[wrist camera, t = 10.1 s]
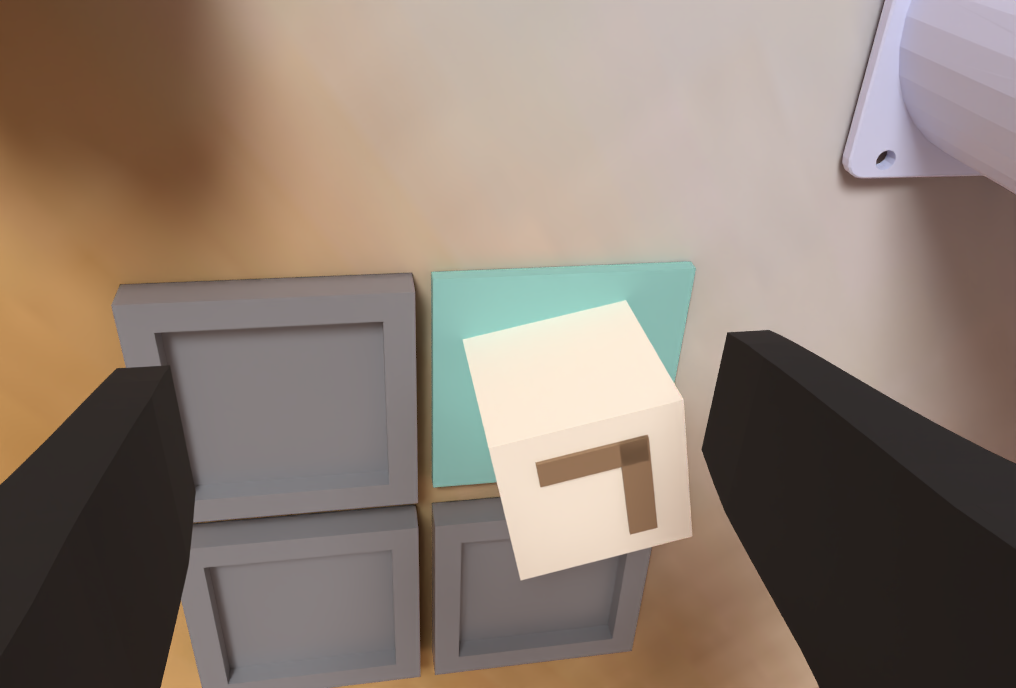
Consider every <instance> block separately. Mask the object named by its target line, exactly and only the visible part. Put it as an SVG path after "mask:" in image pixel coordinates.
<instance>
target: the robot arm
mask: <svg viewBox="0 0 1016 688" xmlns="http://www.w3.org/2000/svg"><path fill="white" fill-rule="evenodd" d="M884 151H887V155H886V157H885V159H884V160H883V161H882V162H880V163H878V164H876V160H877V158H878V156H879V155H880V154H881V153H882V152H884ZM842 163H843V166H844V169H845V170H846V171H848V172H849V173H850V174H851V175H853V176H854V177H856V178H903V177H946V176H986V177H987V178H989V179H991V180H992V181H994V182H996V183H997V184H999V185H1001V186H1002V187H1004V188H1006V189H1007V190H1009V191H1011V192H1013V193H1014V194H1016V0H885V3H884V6H883V10H882V14H881V17H880V21H879V25H878V28H877V32H876V36H875V39H874V43H873V47H872V51H871V54H870V58H869V62H868V65H867V69H866V73H865V76H864V80H863V84H862V87H861V91H860V95H859V98H858V102H857V106H856V110H855V113H854V117H853V121H852V124H851V128H850V132H849V135H848V139H847V143H846V146H845V150H844V154H843V161H842ZM702 452H703V455H704V458H705V460H706V463H707V466H708V469H709V472H710V474H711V477H712V480H713V483H714V485H715V488H716V490H717V493H718V495H719V498H720V500H721V503H722V505H723V508H724V510H725V513H726V515H727V517H728V518H729V520H730V522H731V524H732V526H733V528H734V530H735V532H736V533H737V535H738V537H739V539H740V541H741V543H742V544H743V546H744V548H745V550H746V552H747V554H748V556H749V557H750V559H751V561H752V563H753V565H754V566H755V568H756V570H757V572H758V574H759V575H760V577H761V579H762V581H763V583H764V584H765V586H766V588H767V590H768V591H769V593H770V595H771V597H772V599H773V600H774V602H775V604H776V606H777V608H778V609H779V611H780V613H781V615H782V617H783V618H784V620H785V622H786V624H787V626H788V627H789V629H790V631H791V633H792V635H793V636H794V638H795V640H796V642H797V644H798V645H799V647H800V649H801V651H802V653H803V655H804V657H805V659H806V661H807V663H808V665H809V667H810V669H811V671H812V673H813V675H814V677H815V679H816V681H817V683H818V685H819V688H1016V464H1015V463H1013V462H1011V461H1009V460H1007V459H1005V458H1003V457H1000V456H998V455H996V454H994V453H992V452H990V451H988V450H986V449H984V448H982V447H980V446H978V445H976V444H974V443H973V442H971V441H969V440H967V439H965V438H963V437H961V436H959V435H957V434H955V433H953V432H951V431H949V430H947V429H945V428H944V427H942V426H940V425H938V424H936V423H934V422H932V421H931V420H929V419H927V418H925V417H923V416H921V415H920V414H918V413H916V412H914V411H912V410H911V409H909V408H907V407H905V406H904V405H902V404H900V403H898V402H896V401H895V400H893V399H891V398H890V397H888V396H886V395H884V394H883V393H881V392H879V391H877V390H876V389H874V388H872V387H871V386H869V385H867V384H865V383H864V382H862V381H860V380H859V379H857V378H855V377H854V376H852V375H850V374H848V373H847V372H845V371H843V370H842V369H840V368H838V367H836V366H835V365H833V364H831V363H830V362H828V361H826V360H825V359H823V358H821V357H819V356H818V355H816V354H814V353H812V352H811V351H809V350H807V349H805V348H804V347H802V346H800V345H798V344H796V343H794V342H793V341H791V340H789V339H787V338H785V337H783V336H781V335H779V334H777V333H774V332H772V331H770V330H763V331H746V332H729V333H727V336H726V341H725V346H724V350H723V355H722V359H721V364H720V368H719V373H718V377H717V382H716V387H715V391H714V396H713V400H712V405H711V409H710V414H709V418H708V423H707V428H706V432H705V437H704V441H703V446H702ZM195 495H196V491H195V486H194V481H193V476H192V471H191V466H190V461H189V456H188V452H187V447H186V442H185V437H184V432H183V427H182V422H181V417H180V412H179V407H178V402H177V397H176V392H175V387H174V383H173V378H172V373H171V368H170V365H166V366H149V367H131V368H117V369H116V370H115V371H114V372H113V373H112V374H111V375H110V376H109V377H108V378H107V379H106V380H105V381H104V382H103V383H102V384H101V385H100V386H99V387H98V388H97V389H96V390H95V391H94V392H93V393H92V394H91V395H90V396H89V397H88V398H87V399H86V400H85V401H84V402H83V403H82V404H81V405H80V406H79V407H78V408H77V409H76V410H75V411H74V412H73V413H72V414H71V415H70V416H69V417H68V418H67V419H66V420H65V422H64V423H63V424H62V425H61V426H60V427H59V428H58V429H57V430H56V431H55V432H54V433H53V434H52V435H51V436H50V437H49V438H48V439H47V440H46V441H45V442H44V443H43V444H42V445H41V446H40V447H39V448H38V449H37V450H36V451H35V452H34V453H33V454H32V455H31V456H30V457H29V458H28V459H27V460H26V461H25V462H24V463H23V464H22V465H21V466H20V467H18V468H17V469H16V470H15V471H14V472H13V473H12V474H11V475H10V476H9V477H8V478H7V479H6V480H5V481H4V482H3V483H2V484H1V485H0V688H160V687H161V683H162V679H163V675H164V670H165V666H166V662H167V658H168V653H169V649H170V645H171V641H172V636H173V632H174V628H175V624H176V619H177V615H178V610H179V606H180V602H181V597H182V593H183V589H184V584H185V580H186V575H187V571H188V566H189V558H190V549H191V539H192V529H193V518H194V506H195Z"/></svg>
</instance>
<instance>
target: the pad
mask: <svg viewBox="0 0 1016 688" xmlns="http://www.w3.org/2000/svg"><path fill="white" fill-rule="evenodd" d="M695 270H696V268H695V267H694V265H693V264H692V263H691V262H667V263H642V264H617V265H592V266H567V267H543V268H518V269H493V270H468V271H443V272H431V303H432V483H433V488H434V487H445V486H457V485H469V484H481V483H493V482H497V481H496V476H495V472H494V468H493V464H492V460H491V456H490V452H489V448H488V443H487V439H486V435H485V431H484V427H483V423H482V418H481V414H480V410H479V406H478V402H477V398H476V394H475V389H474V385H473V381H472V377H471V373H470V369H469V365H468V360H467V356H466V352H465V348H464V344H463V339H467V338H471V337H475V336H479V335H483V334H487V333H492V332H496V331H500V330H504V329H508V328H512V327H517V326H521V325H525V324H529V323H533V322H537V321H541V320H546V319H550V318H554V317H558V316H562V315H566V314H571V313H575V312H579V311H583V310H587V309H591V308H596V307H600V306H604V305H608V304H612V303H616V302H620V301H625V300H626V301H627V303H628V305H629V306H630V308H631V310H632V311H633V313H634V315H635V317H636V318H637V320H638V322H639V324H640V325H641V327H642V329H643V330H644V332H645V334H646V336H647V337H648V339H649V341H650V343H651V344H652V346H653V348H654V349H655V351H656V353H657V355H658V356H659V358H660V360H661V362H662V363H663V365H664V367H665V368H666V370H667V372H668V374H669V375H670V377H671V379H672V381H673V382H675V377H676V372H677V366H678V361H679V356H680V350H681V345H682V340H683V334H684V329H685V324H686V318H687V313H688V308H689V302H690V297H691V292H692V286H693V281H694V276H695Z"/></svg>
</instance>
